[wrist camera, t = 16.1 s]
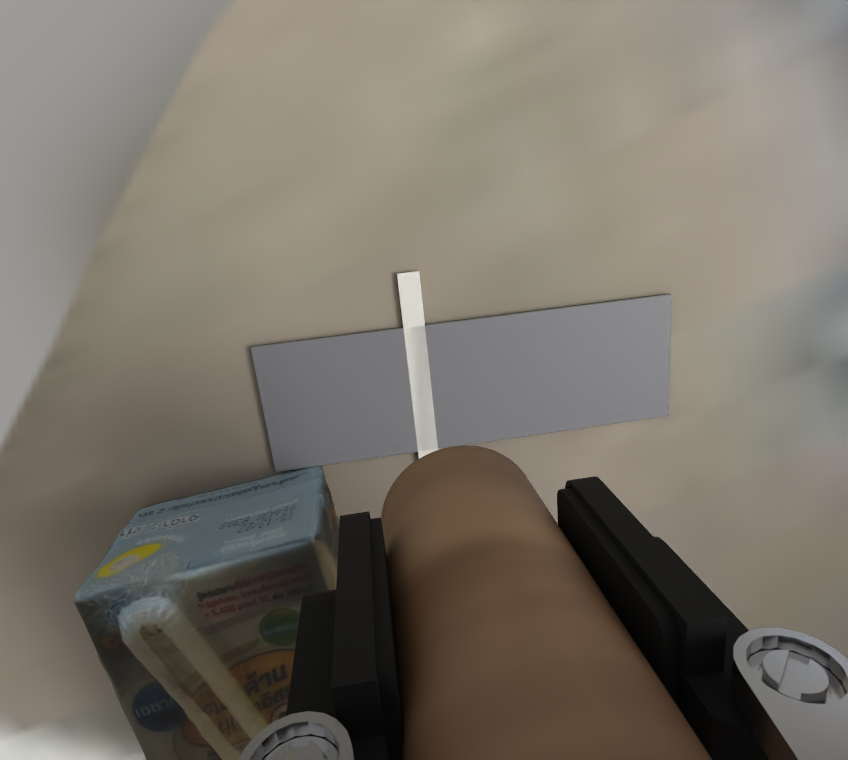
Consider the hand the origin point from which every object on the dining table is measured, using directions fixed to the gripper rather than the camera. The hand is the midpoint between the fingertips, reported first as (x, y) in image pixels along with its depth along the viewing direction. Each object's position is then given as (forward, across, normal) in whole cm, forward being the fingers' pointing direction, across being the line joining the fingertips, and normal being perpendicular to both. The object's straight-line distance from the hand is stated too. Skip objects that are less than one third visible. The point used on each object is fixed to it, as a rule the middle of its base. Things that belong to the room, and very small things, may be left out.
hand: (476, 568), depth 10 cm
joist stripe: (+12, -2, 0) cm, 12 cm away
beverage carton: (+12, +6, +12) cm, 18 cm away
